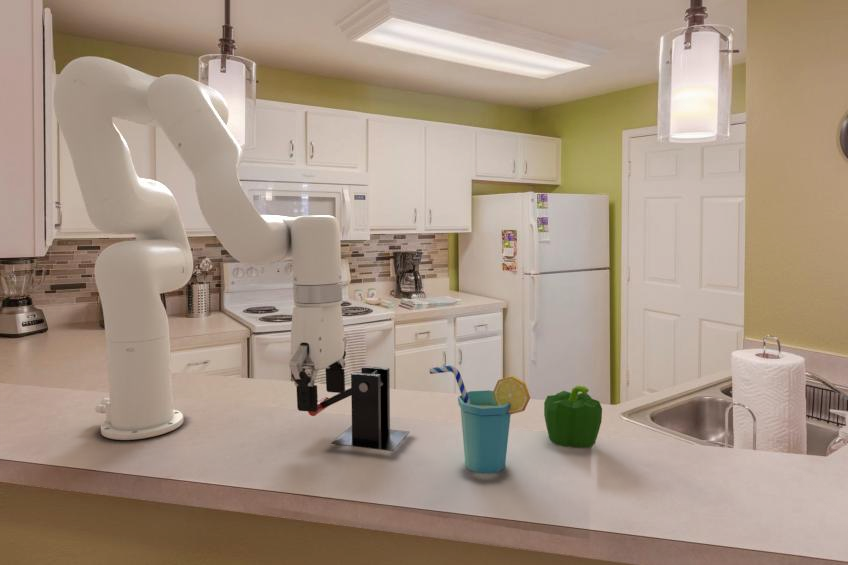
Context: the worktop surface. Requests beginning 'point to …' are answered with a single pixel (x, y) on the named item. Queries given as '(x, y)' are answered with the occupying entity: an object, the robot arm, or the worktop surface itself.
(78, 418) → the worktop surface
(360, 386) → the bracket
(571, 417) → the bell pepper
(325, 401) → the lever
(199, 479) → the worktop surface
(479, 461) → the cup
